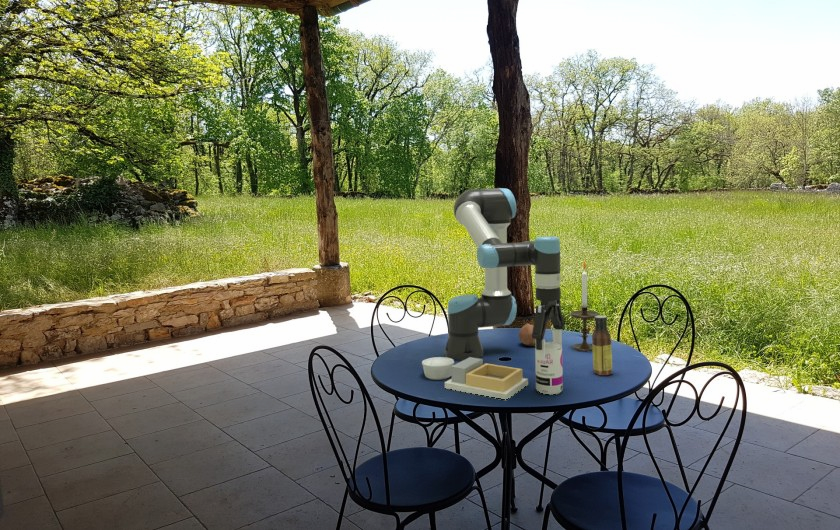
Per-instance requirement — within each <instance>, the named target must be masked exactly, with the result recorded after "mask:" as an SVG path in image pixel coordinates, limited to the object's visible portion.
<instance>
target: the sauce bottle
mask: <svg viewBox="0 0 840 530" xmlns="http://www.w3.org/2000/svg"><path fill="white" fill-rule="evenodd" d="M593 319H594V323H595V324H594V325H595V327H594V328H595V329H594V331H593V333H592V335H591V338H592V340H591V341H592V349H593V351H592V368H593V372H594V374H595V375H598V376H610V375H612V374H613V352H612V349H613V347H612V336H611V333H610V331H609V329H608V326H607V324H608V317H607V316H606V315H601V314H599V315H598V316H595V318H593Z"/></svg>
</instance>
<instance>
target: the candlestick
mask: <svg viewBox="0 0 840 530" xmlns="http://www.w3.org/2000/svg"><path fill="white" fill-rule="evenodd" d="M581 302H582V303H581V305H580V306H579V308H581V310H573V311H570V313H569V314H570V315H569V317H571V318H573V319H574V318H575V319H581V320H582V328H581V329H580V331H581V333H582V335H581V338H582V343H576V344H573V345H572V349H573V350H574V349H575V350H574V351H576V350H577V351H576V352H581V351H585V352H584V353H588V352H587V351H592V352H593V349H592V344H591V343H588V341H587V338H588V337H589V336H588V335H587V333H589V329H588V328H587V321H588V320H589V319H590V320H591V319H595V316H598V315H600V313H599V312H598V311H594V310H588V308H590V306H589V305H588V273H587V272H586V261H584V262H583V272H582V273H581Z"/></svg>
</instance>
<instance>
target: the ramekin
mask: <svg viewBox="0 0 840 530" xmlns="http://www.w3.org/2000/svg"><path fill="white" fill-rule="evenodd" d="M421 365H422V368H423V372H424V376H425V377H426V378H427V379H429V380H434V381H435V380H436V381H437V380H438V381H439V380H440V381H441V380H447V379H449V378H450V377H451V378H452V374H451V366H453V365H455V360H454V359H451V358H447V357H446V356H445V357H444V356H437V357H436V356H435V357H429V358H426V359H423V360H422V361H421Z"/></svg>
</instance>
